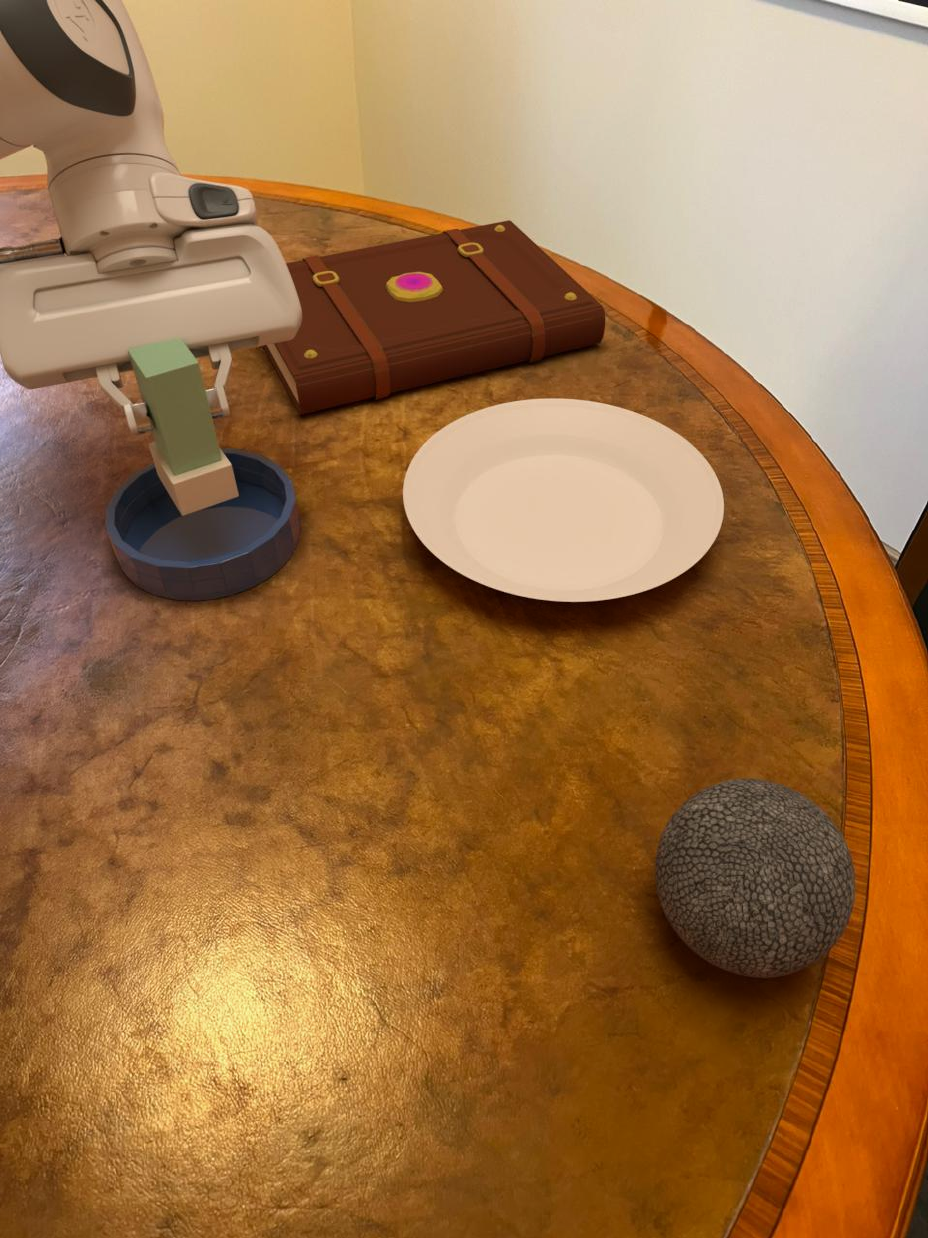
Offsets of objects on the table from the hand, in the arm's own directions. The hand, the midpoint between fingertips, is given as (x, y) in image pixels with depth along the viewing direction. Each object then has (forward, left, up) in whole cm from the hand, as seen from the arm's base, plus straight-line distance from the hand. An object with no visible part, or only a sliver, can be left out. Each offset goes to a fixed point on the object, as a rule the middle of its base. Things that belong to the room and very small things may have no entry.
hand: (181, 424), depth 65 cm
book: (+30, +22, -12) cm, 39 cm away
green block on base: (0, +1, -6) cm, 6 cm away
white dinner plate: (+25, -11, -12) cm, 30 cm away
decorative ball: (+14, -44, -12) cm, 48 cm away
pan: (0, +2, -12) cm, 12 cm away
